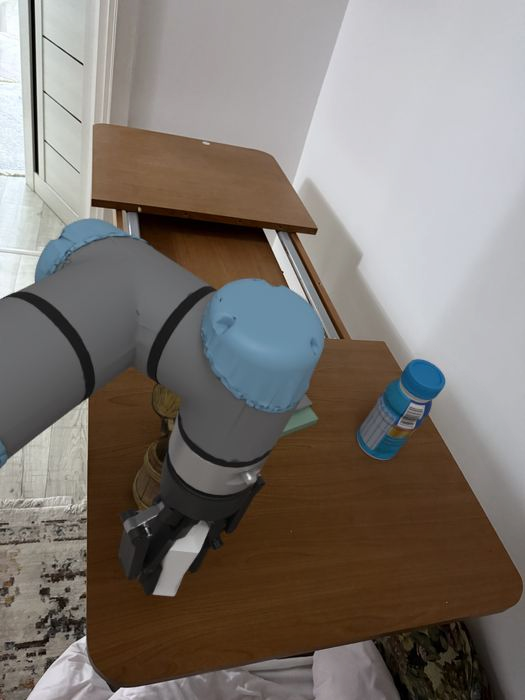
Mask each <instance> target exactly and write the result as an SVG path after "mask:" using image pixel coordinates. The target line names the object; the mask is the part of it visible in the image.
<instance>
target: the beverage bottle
mask: <svg viewBox="0 0 525 700" xmlns="http://www.w3.org/2000/svg"><path fill="white" fill-rule="evenodd" d="M445 386H446V377H445V375H444V373H443V371H442V370H441V369H440V368H439V367H438V366H437V365H436V364H434V363H432V362H430V361H428V360H425V359H421V358H416V359H411V360H410V361H409V362H408V363H407V365H406V366H405V367H404V369H403V370H402V372H401V374H400V377H399V378H396V379H394V380H393V381H391V382H389V383H388V385H387V386H386V388H385V390H384V391H382V392H381V393H380V395H379V396H378V398H377V401H376V403H375V404H374V406H373V408H372V409H371V410H370V412H369V413H368V415H367V416H366V418H365V419H364V421H363V422H362V424H361V425H359V427H358V429H357V431H356V441H357V444H358V446H359V447H360V449H361V450H362V451H363V452H364V453H365V454H366V455H367V456H368V457H371V458H372V459H375V460H379V461H388V460H391V459H393V458H394V457H395V456H396V455H397V453H398V452H399V451H400V450H401V448H402V447H403V445H405V443H406V442H407V441H408V440H409V438H410V437H411V436H412V435H413V433H414V432H415V431H416V430H417V429H418V428H420V426H421V425H423V423H424V420H425V418H426V417H428V415H429V414H430V413H431V410H432V405H433V400H435V399H436V398H437V397H438V396H439V394H440V393H441V392H442V390H443V389H444V388H445Z"/></svg>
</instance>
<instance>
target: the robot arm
mask: <svg viewBox="0 0 525 700" xmlns="http://www.w3.org/2000/svg"><path fill="white" fill-rule="evenodd" d="M33 280H34V283H31V284H29V285H28V286H25V287H23V288H22V289H19V290H17V291H15V292H11V293H9V294H7V295H5V296H3V297H1V298H0V469H2V468H3V467H4V466H5V465H6V464H7V462H8V460H10V458H12V457H14V455H16V454H17V453H18V452H19V451H21V450H22V449H23V448H25V446H27V445H28V444H29V443H31V442H32V441H33V440H35V439H36V438H37V437H38V436H39V435H41V434H42V433H43V432H45V431H46V430H47V429H49V428H50V427H51V426H53V425H54V424H56V423H57V422H59V420H61V419H62V418H63V417H64V416H66V415H67V414H69V413H70V412H71V411H72V410H74V409H75V408H77V407H78V406H80V405H81V404H82V403H83V402H84V401H86V400H88V399H89V398H90V397H92V396H93V395H95V394H96V393H97V392H99V391H100V390H101V389H102V388H104V387H106V386H107V385H108V384H109V383H111V382H112V381H114V380H115V379H116V378H118V377H119V376H120V375H121V374H123V373H124V372H126V371H127V370H129V369H130V368H133V369H134V370H136V371H138V372H139V373H140V374H142V375H144V376H145V377H147V378H148V379H150V380H152V381H153V382H155V384H156V383H158V384H159V385H163V386H164V387H165V388H167V389H168V390H170V391H171V392H173V393H174V394H176V395H177V396H179V397H180V398H181V404H180V408H179V411H178V414H177V418H176V421H175V424H174V427H173V430H172V434H171V437H170V440H169V446H168V449H167V452H166V456H165V459H164V462H163V466H162V470H161V489H160V491H159V493H158V494H157V495H156V496H155V497H154V498H153V500H152V507H150V508H148V509H146V510H145V511H143V512H142V510H139V509H138V510H135V509H134V508H128V509H125V510H124V511H122V512H121V513H120V514H119V518H120V520H121V523H122V525H123V529H122V534H121V539H120V544H119V549H118V553H117V557H118V559H119V562H120V564H121V565H120V566H121V567H122V570H123V572H124V574H125V575H124V576H125V578H126V579H127V581H133V580H135V579H136V580H137V582H138V583H139V584H141V586H142V589H143V592H144V593H145V596H146V597H148V596H150V595H153V594H152V593H154V590H155V588H156V585H157V582H158V580H159V577H160V575H161V572H162V570H163V568H162V566H161V561H162V560H163V558H164V557H165V556H166V554H167V553H168V552H169V550H170V549H171V547H172V546H173V545H174V543H175V542H176V541H177V540H178V539H181V538H184V537H186V535H187V534H188V533H189V531H190V530H191V529H192V527H193V526H194V525H197V524H198V523H199V522H200V521H205V522H206V523H207V525H208V527H209V531H208V533H207V535H206V538H205V540H204V543H203V545H202V547H201V550H200V552H199V553H198V555H197V556H196V558H195V559H194V561H193V562H192V563H191V565H190V566H189V568H188V569H187V570H189V573H190V574H191V575H192V574H194V573H197V572H198V571H199V568H200V566H201V565H202V563H203V561H204V559H205V557H206V555H207V552H208V551H209V550H210V549H211V548H212V550H213V551H216V550H219V549H221V547H223V546H224V542H223V539H222V537H221V534H222V533H223V532H225V534H231V533H233V532H234V531H236V529H237V528H238V526H239V524H240V522H241V520H242V518H243V517H244V515H245V514H246V512H247V510H248V509H249V506H250V505H251V503H252V502H253V499H254V498H255V497H256V495H257V494H258V493H259V492H260V491H261V490H262V488H264V487H265V485H266V481H265V479H264V478H263V476H262V475H261V471H262V470H263V467H264V466H265V464H266V462H267V460H268V458H269V456H270V454H271V452H272V451H273V449H274V448H275V446H276V445H277V442H278V441H279V439H280V438H281V437H280V436H281V434H282V432H283V430H284V429H285V427H286V425H287V423H288V422H289V420H290V418H291V416H292V415H293V413H294V411H295V410H296V408H297V406H298V404H299V403H300V401H301V399H302V397H303V396H304V394H306V393H307V391H308V390H309V387H310V380H311V378H312V376H313V374H314V371H315V369H316V367H317V365H318V362H319V360H320V358H321V356H322V354H323V351H324V348H325V330H324V326H323V323H322V321H321V318H320V317H319V315H318V313H317V311H316V310H315V309H314V307H313V306H312V305H311V304H310V303H309V302H308V301H307V300H306V299H305V298H304V297H303V296H301V294H299V293H297V292H295V291H294V290H293V289H291V288H289V287H287V286H285V285H282V284H281V285H278V286H275V285H271V284H270V283H268V282H267V280H265V279H262V278H241V279H235V280H232V281H230V282H227V283H226V284H224V285H223V286H222V287H221V288H219V289H216V288H215V287H214V286H213V285H211V284H209V283H207V282H205V281H204V280H203V279H201V278H200V277H198V276H197V275H195V274H193V273H192V272H190V271H189V270H187V269H186V268H184V267H183V266H181V265H180V264H178V263H177V262H175V261H174V260H172V259H170V258H169V257H167V256H166V255H164V254H163V253H161V252H160V251H158V250H157V249H155V248H154V247H153V246H152V245H151V244H150V243H149V242H148V241H146V239H143V238H139V237H137V236H136V235H134V234H130V233H128V232H126V231H124V230H123V229H121V228H119V227H117V226H116V225H114V224H112V223H110V222H109V221H106V220H104V219H100V218H92V217H91V218H90V217H89V218H82V219H78V220H75V221H73V222H71V223H69V224H67V225H65V226H64V227H63V228H62V230H61V232H60V234H59V236H58V238H54V239H50V240H49V241H48V242H47V243H46V245H45V247H44V248H43V250H41V253H40V255H39V257H38V260H37V263H36V266H35V270H34V279H33Z"/></svg>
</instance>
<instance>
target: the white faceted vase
mask: <svg viewBox="0 0 525 700" xmlns="http://www.w3.org/2000/svg"><path fill="white" fill-rule="evenodd" d="M208 531H209V527H208V525H207V523H206V522H205V521H200V522H199V523H198V524H197V525H194V526H193V527H192V529H191V530H190V531H189V533H188V534H187V535H186V537H184V538H181V539H178V540H177V541H176V542H175V543H174V545H173V546H172V547H171V549H170V550H169V552H168V553H167V554H166V556H165V557H164V558H163V560H162V561H161V566H162V568H163V570H162V572H161V575H160V577H159V580H158V582H157V585H156V588H155V590H154V593H152V594H151V595H154V596H166V597H175V596H176V595H177V592H178V589H179V587H180V586H181V583H182V581H183V577H184V575H185V574H186V572H187V571H188V570H189V569H188V568H189V566H190V565H191V563H192V562H193V561H194V559H195V558H196V556H197V555H198V553H199V552H200V550H201V547H202V545H203V543H204V540H205V538H206V535H207V533H208Z"/></svg>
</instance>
